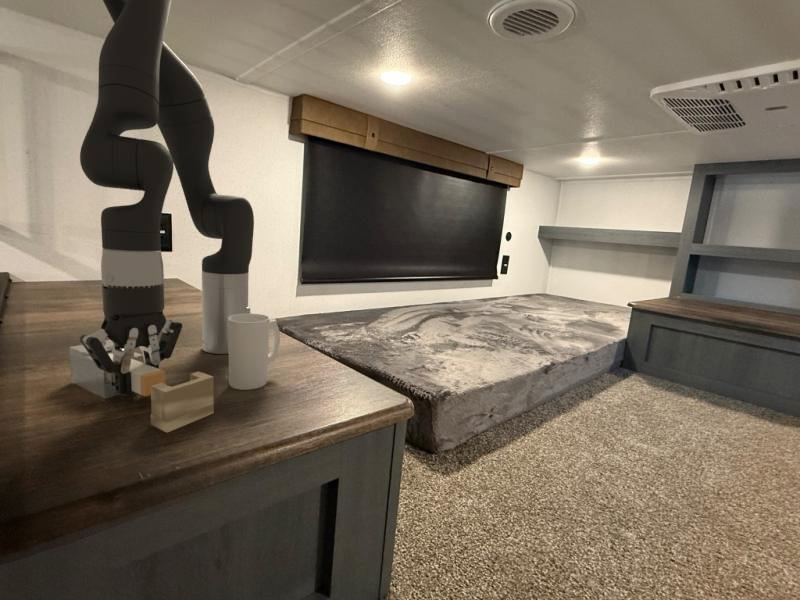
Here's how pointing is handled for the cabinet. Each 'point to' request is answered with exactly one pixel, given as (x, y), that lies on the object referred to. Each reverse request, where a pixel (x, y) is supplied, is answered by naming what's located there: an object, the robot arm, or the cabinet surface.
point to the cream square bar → (142, 376)
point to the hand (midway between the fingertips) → (137, 390)
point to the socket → (182, 402)
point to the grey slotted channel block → (93, 371)
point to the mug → (250, 349)
